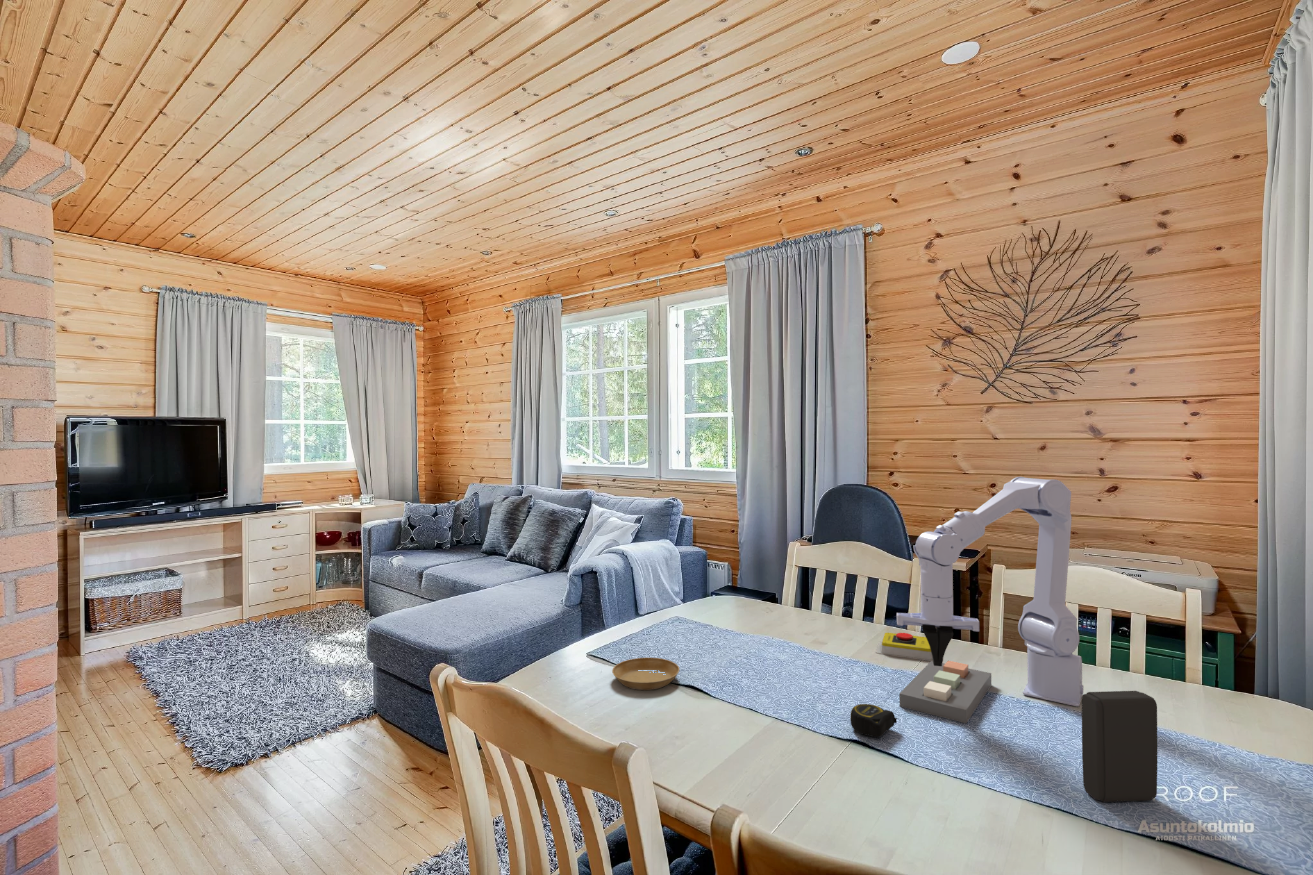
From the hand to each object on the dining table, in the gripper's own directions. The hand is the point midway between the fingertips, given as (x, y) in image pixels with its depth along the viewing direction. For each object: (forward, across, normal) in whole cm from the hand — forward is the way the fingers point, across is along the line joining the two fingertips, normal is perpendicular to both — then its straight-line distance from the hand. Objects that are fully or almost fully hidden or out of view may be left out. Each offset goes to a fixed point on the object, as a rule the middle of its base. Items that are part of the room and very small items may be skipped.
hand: (937, 664), depth 121 cm
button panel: (+8, -3, -7) cm, 11 cm away
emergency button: (+9, +3, -32) cm, 33 cm away
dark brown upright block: (+9, -22, +24) cm, 34 cm away
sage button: (+7, -3, -6) cm, 10 cm away
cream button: (+7, 0, 0) cm, 7 cm away
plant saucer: (+9, +59, +3) cm, 60 cm away
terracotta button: (+7, -5, -13) cm, 16 cm away
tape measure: (+9, +12, +14) cm, 20 cm away
